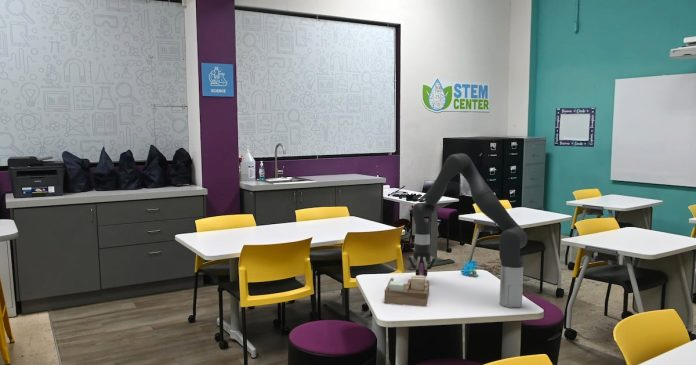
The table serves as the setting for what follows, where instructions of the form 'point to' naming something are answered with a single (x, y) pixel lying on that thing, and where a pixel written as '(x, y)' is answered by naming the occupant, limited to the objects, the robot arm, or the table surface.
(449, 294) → the table surface
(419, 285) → the purple handled mallet
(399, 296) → the wooden tray
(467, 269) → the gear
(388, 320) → the table surface
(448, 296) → the table surface
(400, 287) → the sage block
